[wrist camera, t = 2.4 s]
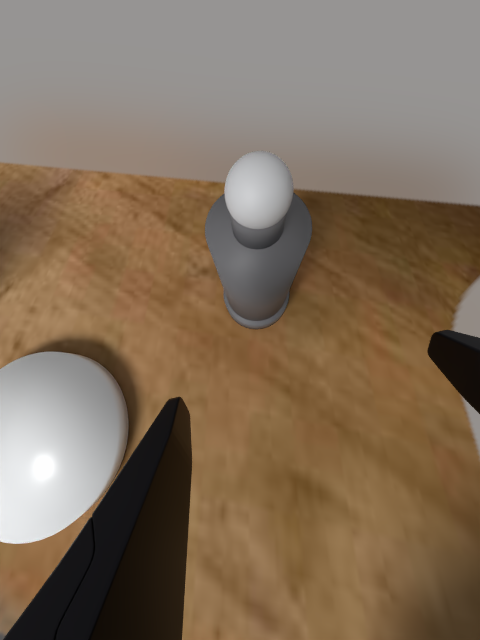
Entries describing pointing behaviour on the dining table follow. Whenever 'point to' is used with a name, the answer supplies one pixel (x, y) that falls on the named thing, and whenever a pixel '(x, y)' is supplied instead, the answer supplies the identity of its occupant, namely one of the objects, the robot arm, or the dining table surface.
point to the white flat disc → (56, 441)
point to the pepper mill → (258, 238)
